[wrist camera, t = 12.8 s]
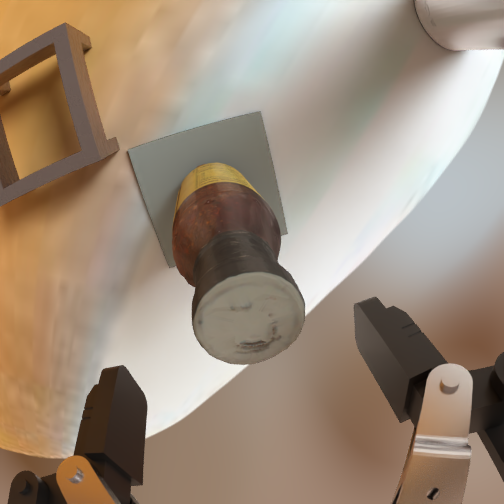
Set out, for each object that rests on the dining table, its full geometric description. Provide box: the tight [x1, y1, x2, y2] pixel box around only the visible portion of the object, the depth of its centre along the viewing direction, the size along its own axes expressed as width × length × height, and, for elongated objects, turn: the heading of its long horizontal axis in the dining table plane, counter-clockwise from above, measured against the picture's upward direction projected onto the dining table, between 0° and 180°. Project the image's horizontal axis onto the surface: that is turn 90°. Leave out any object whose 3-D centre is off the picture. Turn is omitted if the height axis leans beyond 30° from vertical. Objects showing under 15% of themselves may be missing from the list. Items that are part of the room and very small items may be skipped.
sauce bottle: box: [172, 163, 305, 365], centre depth 20 cm, size 7×6×20 cm
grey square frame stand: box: [0, 23, 120, 206], centre depth 21 cm, size 10×11×6 cm
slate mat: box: [128, 111, 288, 268], centre depth 29 cm, size 12×12×1 cm
